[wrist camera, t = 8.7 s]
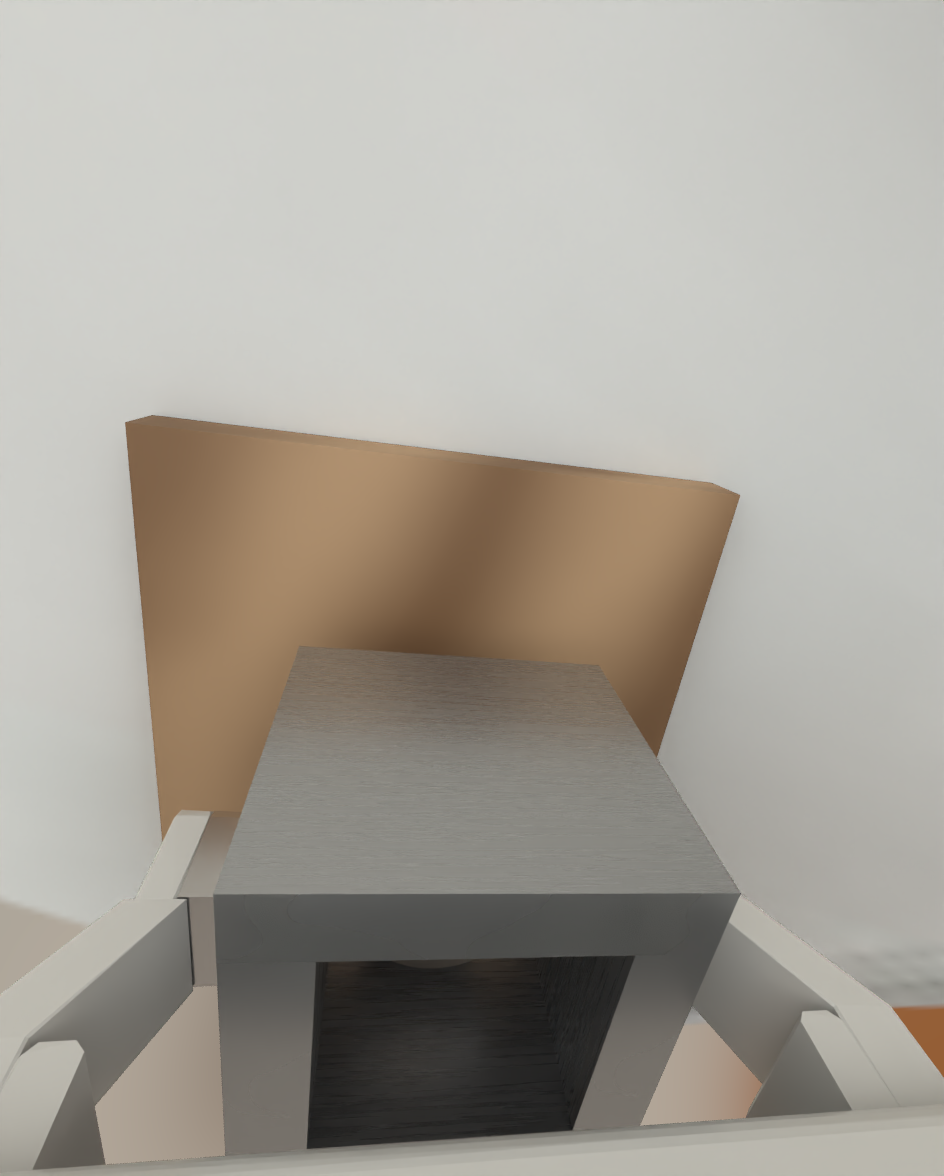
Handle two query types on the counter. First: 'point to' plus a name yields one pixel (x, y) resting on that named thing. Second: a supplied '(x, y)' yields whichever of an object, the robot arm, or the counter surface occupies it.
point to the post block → (393, 578)
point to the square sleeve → (455, 908)
